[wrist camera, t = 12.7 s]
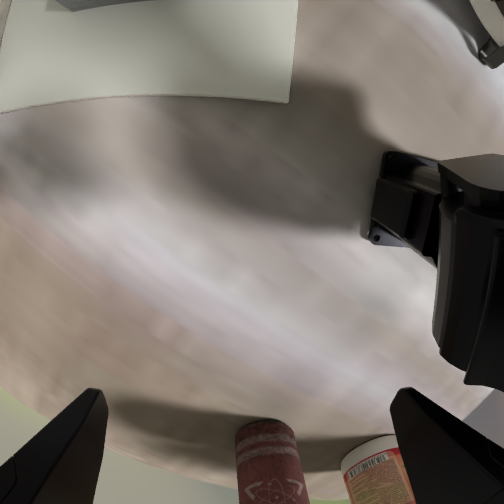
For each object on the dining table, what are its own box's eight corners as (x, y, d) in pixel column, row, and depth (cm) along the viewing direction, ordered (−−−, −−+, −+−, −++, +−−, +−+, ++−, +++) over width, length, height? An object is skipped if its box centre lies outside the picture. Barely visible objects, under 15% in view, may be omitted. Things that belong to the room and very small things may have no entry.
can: (220, 436, 28) (226, 557, 15) (268, 410, 27) (291, 544, 14) (258, 454, 30) (272, 560, 17) (303, 431, 29) (332, 545, 16)
